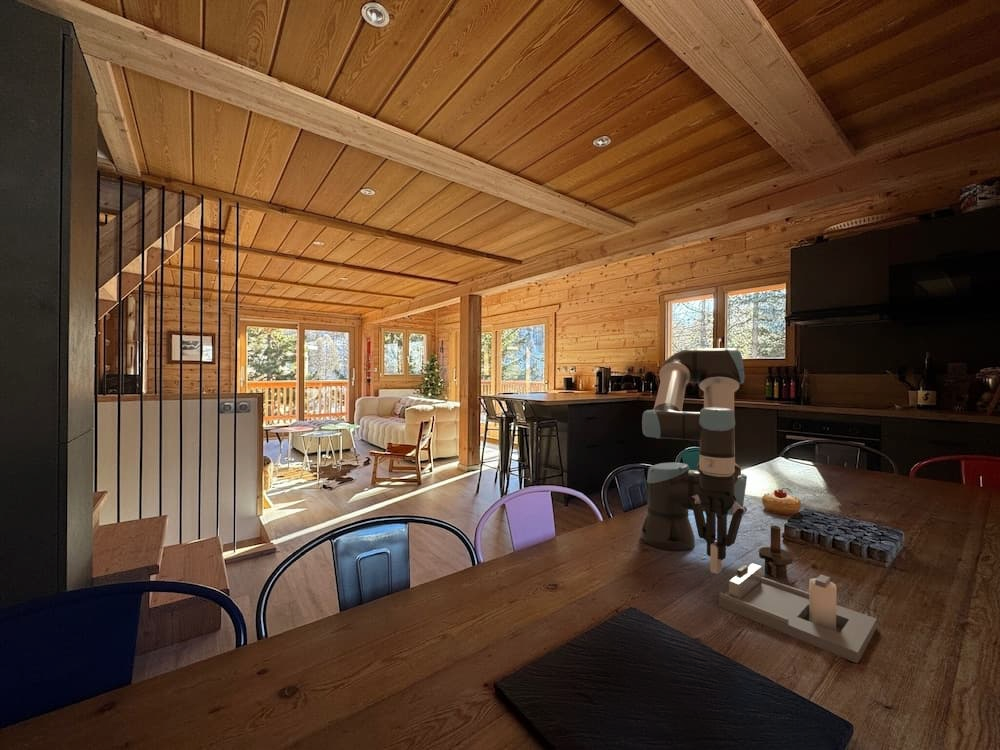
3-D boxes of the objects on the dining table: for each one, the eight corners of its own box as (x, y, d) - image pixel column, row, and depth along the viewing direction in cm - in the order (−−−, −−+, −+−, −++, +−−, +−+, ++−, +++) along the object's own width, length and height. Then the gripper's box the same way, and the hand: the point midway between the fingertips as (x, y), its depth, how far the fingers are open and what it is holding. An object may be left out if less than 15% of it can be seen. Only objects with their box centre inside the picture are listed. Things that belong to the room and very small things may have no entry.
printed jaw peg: (806, 626, 88) (806, 577, 87) (812, 618, 90) (813, 571, 90) (832, 637, 84) (833, 586, 84) (838, 628, 87) (839, 579, 87)
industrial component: (772, 564, 115) (772, 520, 115) (800, 576, 108) (800, 529, 108) (747, 571, 112) (747, 525, 111) (774, 584, 105) (774, 535, 105)
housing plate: (718, 606, 95) (718, 593, 95) (747, 582, 105) (748, 571, 105) (857, 663, 77) (857, 648, 77) (876, 628, 87) (876, 614, 87)
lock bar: (728, 596, 95) (728, 576, 95) (751, 577, 103) (751, 559, 103) (738, 600, 93) (738, 579, 93) (761, 580, 102) (761, 562, 102)
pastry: (763, 505, 166) (763, 481, 166) (801, 510, 159) (801, 486, 159) (760, 512, 156) (760, 488, 156) (800, 518, 149) (800, 492, 149)
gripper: (682, 470, 105) (682, 565, 106) (739, 480, 95) (738, 586, 96) (697, 465, 110) (696, 557, 111) (752, 475, 100) (752, 576, 100)
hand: (716, 570), depth 103 cm, fingers closed
